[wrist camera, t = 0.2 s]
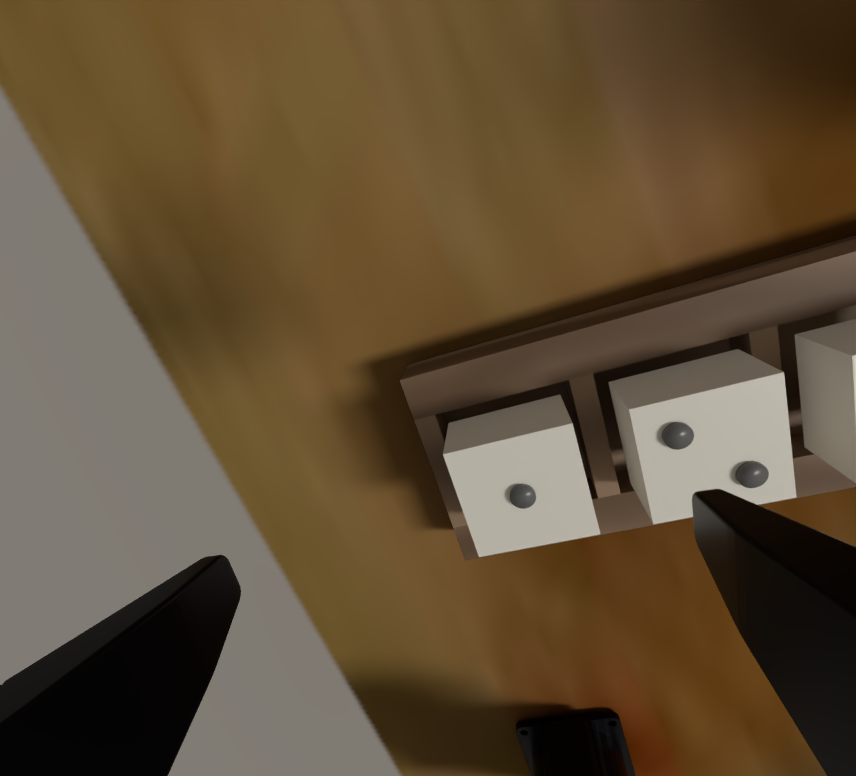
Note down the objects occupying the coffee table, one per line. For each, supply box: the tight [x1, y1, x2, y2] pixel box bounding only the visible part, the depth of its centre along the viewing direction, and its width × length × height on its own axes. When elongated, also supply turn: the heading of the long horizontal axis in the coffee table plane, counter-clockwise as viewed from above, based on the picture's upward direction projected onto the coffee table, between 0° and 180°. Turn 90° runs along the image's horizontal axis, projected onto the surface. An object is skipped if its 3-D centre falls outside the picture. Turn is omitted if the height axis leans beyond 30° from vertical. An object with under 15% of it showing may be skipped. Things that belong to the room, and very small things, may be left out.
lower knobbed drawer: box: [443, 395, 600, 557], centre depth 19 cm, size 5×5×3 cm
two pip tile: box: [608, 349, 796, 524], centre depth 18 cm, size 5×5×3 cm
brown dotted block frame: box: [400, 235, 856, 560], centre depth 21 cm, size 10×22×2 cm, turn 108°
